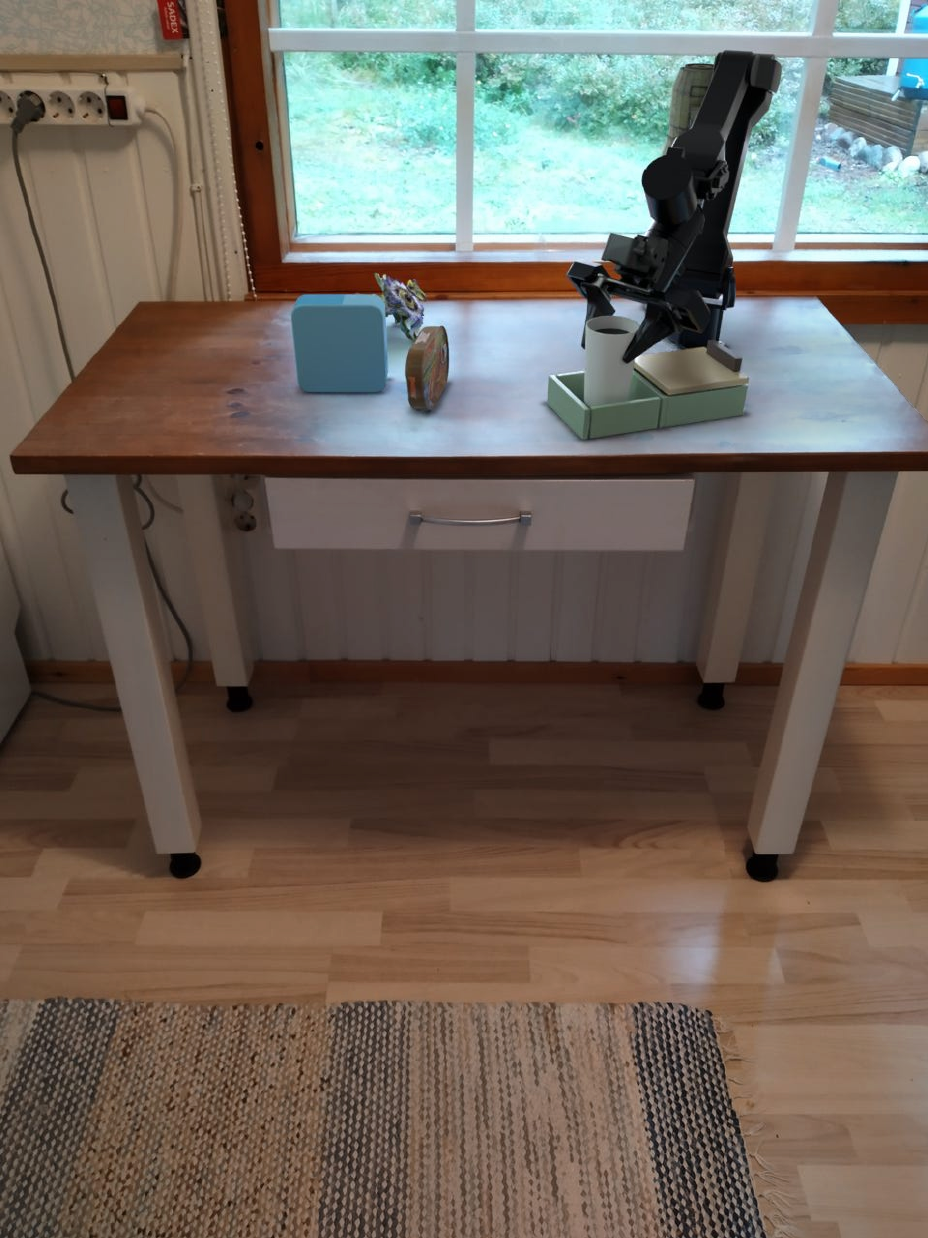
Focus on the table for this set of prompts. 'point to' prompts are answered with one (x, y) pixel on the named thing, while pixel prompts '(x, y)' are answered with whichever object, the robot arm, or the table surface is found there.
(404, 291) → the passion flower
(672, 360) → the sliding lid
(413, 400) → the tin
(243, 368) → the table surface
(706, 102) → the robot arm
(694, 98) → the thermos
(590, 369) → the white cup
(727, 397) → the storage box
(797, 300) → the table surface
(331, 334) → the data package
